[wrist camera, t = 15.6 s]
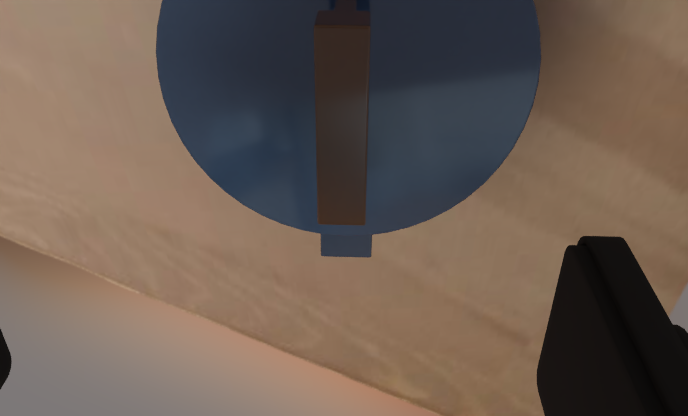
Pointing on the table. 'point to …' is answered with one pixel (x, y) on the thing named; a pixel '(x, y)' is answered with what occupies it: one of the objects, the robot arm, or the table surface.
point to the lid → (349, 102)
